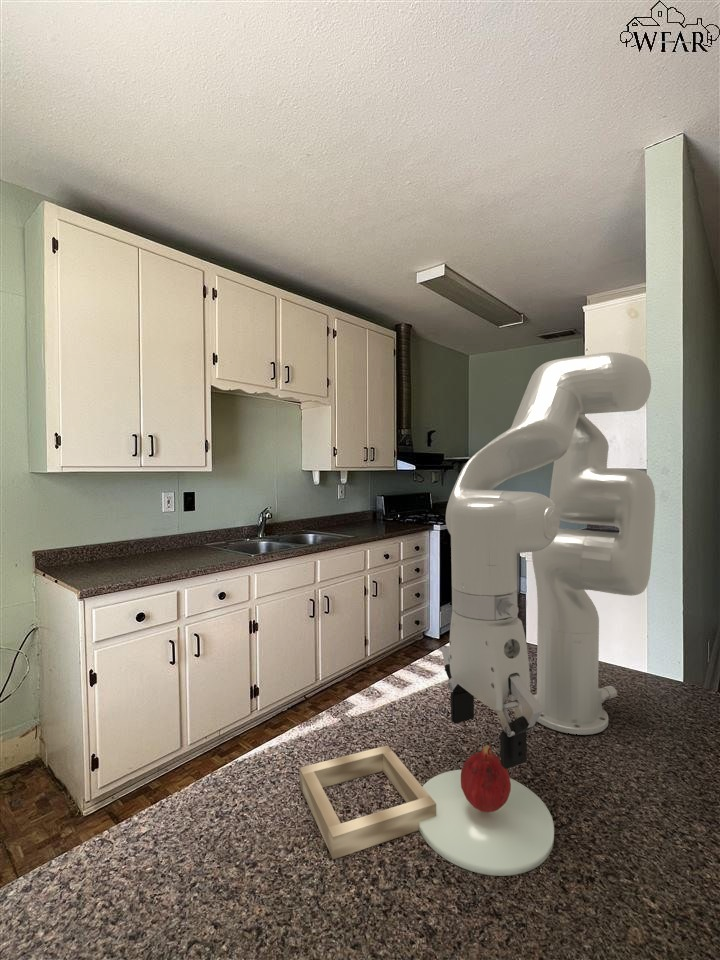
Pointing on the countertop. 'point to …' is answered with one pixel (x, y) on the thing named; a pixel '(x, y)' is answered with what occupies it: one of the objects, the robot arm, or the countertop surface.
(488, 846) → the plate
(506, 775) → the onion
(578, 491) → the robot arm
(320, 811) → the frame
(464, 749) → the countertop surface
